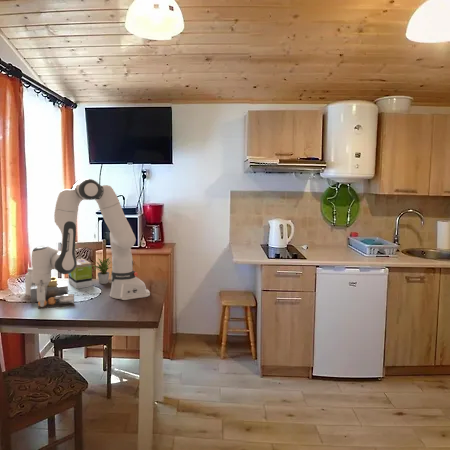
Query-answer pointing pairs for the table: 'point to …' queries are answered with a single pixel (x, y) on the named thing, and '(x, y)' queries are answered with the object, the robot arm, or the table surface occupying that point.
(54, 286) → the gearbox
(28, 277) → the pill bottle
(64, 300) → the spout can
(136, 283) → the robot arm
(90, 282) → the tea box
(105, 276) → the house plant
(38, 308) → the mat
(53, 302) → the bead
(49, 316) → the table surface
